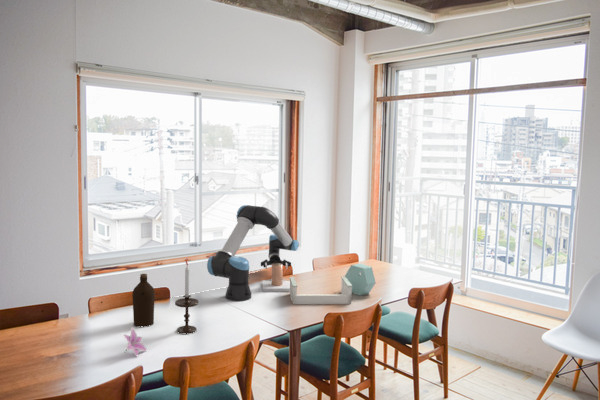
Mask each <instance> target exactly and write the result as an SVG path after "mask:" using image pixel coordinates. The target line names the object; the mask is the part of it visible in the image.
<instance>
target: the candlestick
mask: <svg viewBox="0 0 600 400" xmlns="http://www.w3.org/2000/svg"><path fill="white" fill-rule="evenodd" d="M185 264H186V267H185V269H184V271H185V272H184V279H185V280H184V295H182V298H179V299H176V300H175V302H174V303H175V304H174V305H175V306H176V307H178V308H179V307H180V308H185V309H184V310H185V314H184V315H183V318H184V320H183V321H184V322H185V323H184V325H182V326H179V327H177V329H176V333H178V332H179V333H178V334H180V333H186V334H185V335H188V334H187V333H192V334H194V333H196V332H197V327H196V326H195V325H189V322H190V319H189V318H190V317H191V315H190V314H189V308H192V307H195V306H198V305H199V299H197V298H194V297H193V298H192V295H191V294H190V268H189V266H188V265H189V263H188V260H185ZM195 331H196V332H195ZM193 332H194V333H193Z"/></svg>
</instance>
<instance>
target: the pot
mask: <svg viewBox="0 0 600 400" xmlns="http://www.w3.org/2000/svg"><path fill="white" fill-rule="evenodd" d="M283 271H284V266H283V264H281V263H273V264H272V265H271V281H272V282H271V285H273V286H281V285H282V281H284V280H283V276H284V274H283Z"/></svg>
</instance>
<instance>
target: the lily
mask: <svg viewBox="0 0 600 400" xmlns="http://www.w3.org/2000/svg"><path fill="white" fill-rule="evenodd" d="M123 337H124V338H125V339H126V341H127V342H128V343H127V346H126V350H125V351H126V352H127V350H128V351H130V350H131V351H133V352H134V354H135V356H136V357H137V355H138V356H139V351H141V352H147V351H146V350H147V348H146V346H145V345H144V343H142V340H143V338H142V336H138V335H137V332H136V330H135V329H134V327H131V330H130V335H127V334H123Z"/></svg>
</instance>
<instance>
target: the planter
mask: <svg viewBox="0 0 600 400" xmlns="http://www.w3.org/2000/svg"><path fill="white" fill-rule="evenodd" d="M344 277H346V278H347V279H348V281H349V282H350V283H351V284H352V294H354V295H358V296H360V297H361V296H364V295H369V294H370V293H371V291H372V289H373V288H374V287H375V285H376V278H375V275H374V271H373V267H372V266H370V265H366V264H363V263H356V264H351V265H350V266H349V268H348V270H347V271H346V273H345V275H344Z"/></svg>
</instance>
